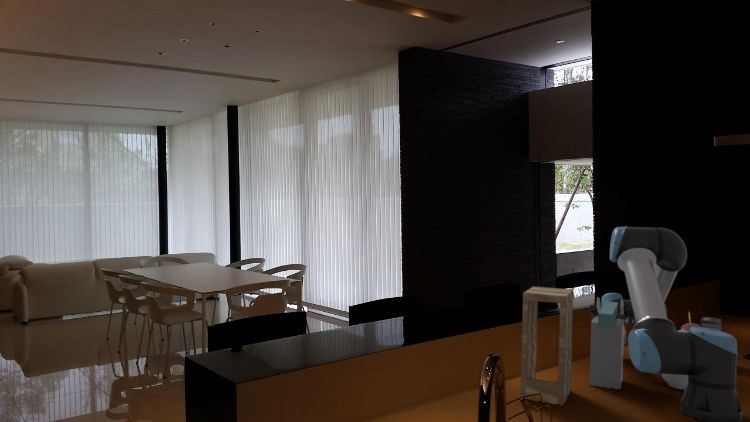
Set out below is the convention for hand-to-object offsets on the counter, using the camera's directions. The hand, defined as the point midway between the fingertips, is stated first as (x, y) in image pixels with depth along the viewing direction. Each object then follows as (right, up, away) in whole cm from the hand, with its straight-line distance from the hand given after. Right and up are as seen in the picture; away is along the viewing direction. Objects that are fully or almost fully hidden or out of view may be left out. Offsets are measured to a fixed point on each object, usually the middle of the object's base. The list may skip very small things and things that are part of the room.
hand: (609, 302), depth 200 cm
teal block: (-2, -5, -4) cm, 6 cm away
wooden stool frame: (-25, -25, -17) cm, 40 cm away
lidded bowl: (+20, -26, -6) cm, 33 cm away
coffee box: (+44, -26, +22) cm, 56 cm away
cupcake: (+57, -25, +59) cm, 86 cm away
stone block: (-3, -25, -4) cm, 26 cm away
